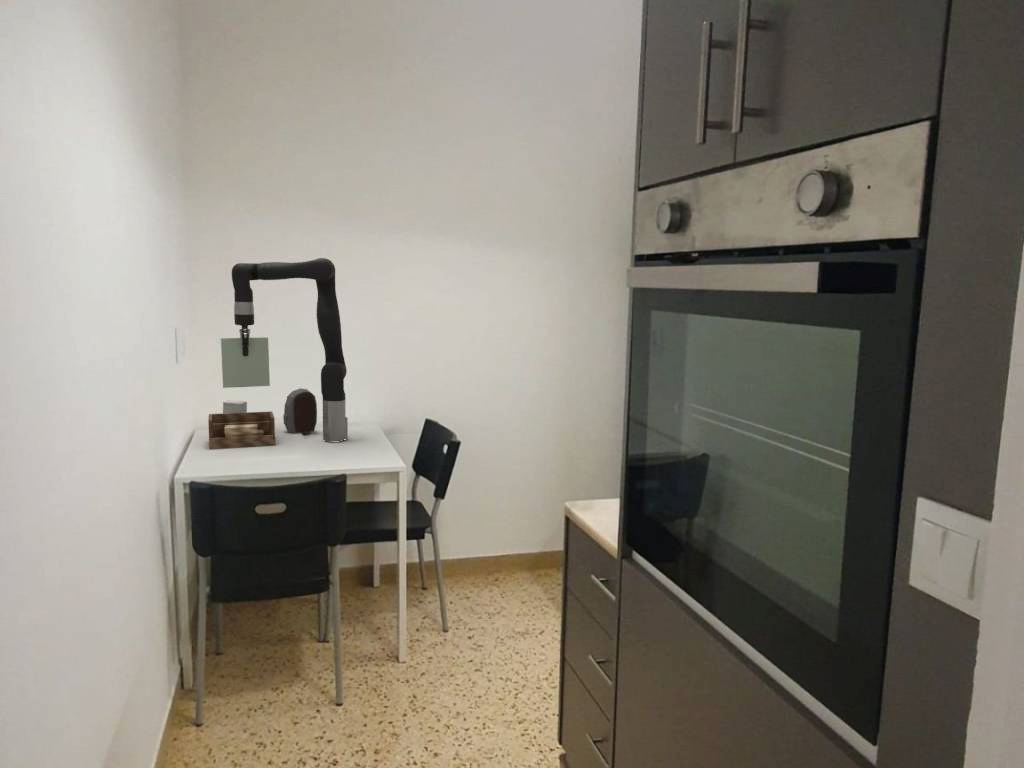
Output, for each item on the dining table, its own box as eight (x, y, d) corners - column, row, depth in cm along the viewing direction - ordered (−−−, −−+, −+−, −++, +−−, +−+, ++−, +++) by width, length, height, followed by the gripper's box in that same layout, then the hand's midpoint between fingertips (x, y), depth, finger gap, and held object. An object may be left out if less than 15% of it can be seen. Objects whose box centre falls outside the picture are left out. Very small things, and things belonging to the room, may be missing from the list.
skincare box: (222, 437, 304) (221, 402, 302) (228, 434, 310) (227, 399, 308) (242, 438, 304) (241, 403, 301) (247, 434, 310) (247, 400, 307)
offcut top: (257, 430, 290) (257, 424, 289) (257, 433, 285) (257, 426, 285) (225, 431, 286) (225, 425, 286) (224, 434, 281) (224, 428, 281)
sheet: (269, 385, 303) (267, 337, 300) (269, 385, 301) (268, 337, 298) (223, 387, 297) (220, 338, 293) (223, 387, 295) (220, 338, 292)
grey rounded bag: (289, 437, 306) (288, 391, 303) (279, 434, 312) (278, 388, 309) (320, 432, 317) (320, 387, 314) (310, 429, 323) (310, 385, 320)
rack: (272, 441, 300) (272, 411, 298) (275, 449, 287) (274, 418, 285) (209, 444, 291) (208, 414, 289) (209, 453, 278) (208, 421, 276)
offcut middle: (262, 435, 292) (262, 429, 291) (263, 438, 287) (263, 432, 287) (224, 438, 286) (224, 431, 285) (225, 440, 281) (225, 434, 281)
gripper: (254, 314, 289) (256, 357, 292) (253, 312, 302) (254, 353, 305) (234, 314, 287) (236, 357, 289) (233, 312, 299) (235, 353, 302)
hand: (245, 355), depth 297 cm, fingers closed on sheet, 2 cm apart
